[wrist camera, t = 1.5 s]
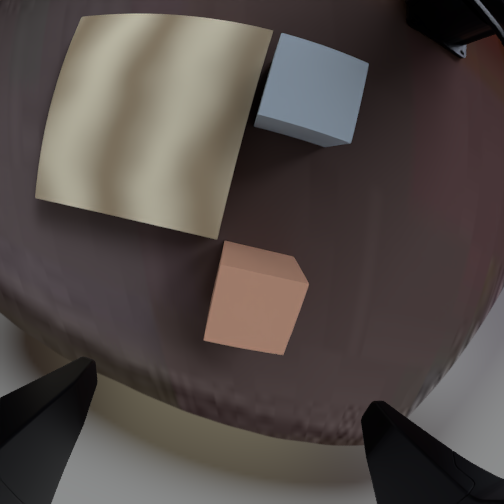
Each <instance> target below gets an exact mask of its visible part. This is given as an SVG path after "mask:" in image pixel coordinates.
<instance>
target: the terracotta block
mask: <svg viewBox="0 0 504 504" xmlns="http://www.w3.org/2000/svg"><path fill="white" fill-rule="evenodd" d="M308 286H309V283H308V281H307V279H306V277H305V276H304V274H303V272H302V270H301V269H300V267H299V265H298V263H297V262H296V260H295V258H294V257H293V256H289V255H284V254H280V253H276V252H272V251H267V250H263V249H259V248H255V247H250V246H246V245H242V244H238V243H233V242H229V241H224V245H223V250H222V254H221V258H220V262H219V267H218V271H217V275H216V280H215V284H214V289H213V293H212V298H211V302H210V307H209V313H208V318H207V323H206V329H205V335H204V341H208V342H213V343H218V344H223V345H228V346H233V347H238V348H244V349H249V350H255V351H261V352H267V353H273V354H279V355H283V354H284V351H285V349H286V346H287V344H288V341H289V338H290V336H291V333H292V330H293V328H294V325H295V322H296V320H297V317H298V314H299V311H300V309H301V306H302V303H303V300H304V297H305V294H306V292H307V289H308Z"/></svg>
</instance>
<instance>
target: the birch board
mask: <svg viewBox="0 0 504 504" xmlns="http://www.w3.org/2000/svg"><path fill="white" fill-rule="evenodd" d="M272 33H273V30H269V29H264V28H260V27H256V26H251V25H246V24H241V23H235V22H230V21H224V20H217V19H210V18H202V17H193V16H182V15H167V14H111V15H96V16H86V17H82V18H81V20H80V22H79V25H78V27H77V29H76V32H75V34H74V36H73V39H72V41H71V44H70V46H69V49H68V52H67V54H66V57H65V60H64V63H63V66H62V69H61V72H60V75H59V78H58V81H57V84H56V88H55V91H54V95H53V98H52V102H51V106H50V110H49V114H48V119H47V123H46V128H45V132H44V137H43V143H42V148H41V154H40V161H39V168H38V175H37V184H36V194H35V198H38V199H42V200H47V201H51V202H55V203H60V204H64V205H69V206H73V207H77V208H82V209H86V210H91V211H95V212H99V213H104V214H108V215H113V216H117V217H121V218H126V219H130V220H134V221H139V222H143V223H148V224H152V225H156V226H161V227H165V228H169V229H174V230H178V231H182V232H186V233H191V234H195V235H199V236H204V237H208V238H212V239H217V238H218V234H219V231H220V226H221V222H222V218H223V214H224V209H225V205H226V201H227V197H228V193H229V189H230V185H231V181H232V177H233V173H234V169H235V165H236V161H237V157H238V154H239V150H240V146H241V142H242V138H243V135H244V131H245V127H246V124H247V120H248V116H249V113H250V109H251V105H252V102H253V98H254V95H255V91H256V88H257V84H258V81H259V77H260V74H261V71H262V67H263V64H264V60H265V57H266V54H267V51H268V47H269V44H270V41H271V37H272Z"/></svg>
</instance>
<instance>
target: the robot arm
mask: <svg viewBox="0 0 504 504" xmlns="http://www.w3.org/2000/svg"><path fill="white" fill-rule="evenodd" d="M406 4H407V15H406V21H407V23H408V24H409V25H410V26H411V27H413V28H415V29H416V30H418V31H420V32H422V33H423V34H425V35H426V36H428V37H430V38H431V39H433V40H434V41H436V42H438V43H439V44H441V45H442V46H444V47H445V48H446V49H448V50H449V51H451V52H452V53H454V54H455V55H456V56H458V57H459V58H465V57H466V44H469V43H472V42H474V41H477V40H480V39H483V38H486V37H489V36H492V35H495V34H496V35H497V37H498V38H499V39H500V41H501V42H502V45H503V46H504V0H406ZM411 20H412V21H413V22H412V21H411ZM460 52H461V53H460ZM96 386H97V372H96V363H95V361H94V360H93V359H90V358H87V357H80V358H78V359H76V360H74V361H73V362H71V363H69V364H67V365H65V366H63V367H61V368H59V369H57V370H55V371H53V372H51V373H49V374H47V375H45V376H43V377H41V378H39V379H37V380H35V381H33V382H31V383H29V384H27V385H25V386H23V387H21V388H19V389H17V390H15V391H13V392H11V393H9V394H7V395H5V396H3V397H1V398H0V504H51V502H52V499H53V497H54V494H55V492H56V489H57V486H58V484H59V481H60V479H61V476H62V474H63V471H64V469H65V466H66V464H67V462H68V459H69V457H70V455H71V452H72V450H73V448H74V445H75V443H76V441H77V439H78V436H79V434H80V432H81V429H82V427H83V425H84V422H85V419H86V416H87V413H88V410H89V406H90V403H91V401H92V398H93V395H94V391H95V389H96ZM361 425H362V432H363V439H364V446H365V453H366V459H367V463H368V467H369V471H370V475H371V480H372V483H373V488H374V492H375V497H376V501H377V504H504V479H502V478H500V477H497V476H495V475H493V474H492V473H490V472H488V471H485V470H484V469H482V468H480V467H478V466H477V465H475V464H473V463H471V462H470V461H468V460H466V459H465V458H463V457H462V456H460V455H458V454H457V453H456V452H454V451H452V450H451V449H450V448H448V447H447V446H446V445H444V444H443V443H441V442H440V441H438V440H437V439H435V438H434V437H433V436H431V435H430V434H428V433H427V432H426V431H424V430H423V429H421V428H420V427H419V426H417V425H416V424H414V423H413V422H411V421H410V420H409V419H408V418H406V417H405V416H403V415H402V414H401V413H399V412H398V411H397V410H395V409H394V408H393V407H391V406H390V405H389V404H387V403H386V402H384V401H373V402H372V403H371V404H370V405H369V407H368V408H367V410H366V411H365V413H364V414H363V416H362V419H361Z"/></svg>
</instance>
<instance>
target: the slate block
mask: <svg viewBox="0 0 504 504" xmlns="http://www.w3.org/2000/svg"><path fill="white" fill-rule="evenodd" d="M368 66H369V63H366V62H364V61H362V60H359V59H357V58H355V57H352V56H350V55H347V54H345V53H342V52H339V51H337V50H334V49H331V48H329V47H326V46H323V45H320V44H317V43H314V42H311V41H308V40H305V39H301V38H298V37H295V36H291V35H288V34H284V33H281V36H280V39H279V42H278V45H277V48H276V51H275V54H274V57H273V60H272V63H271V66H270V70H269V73H268V77H267V80H266V84H265V87H264V91H263V94H262V98H261V101H260V105H259V109H258V112H257V116H256V120H255V123H254V127H258V128H261V129H265V130H269V131H273V132H276V133H280V134H284V135H287V136H291V137H294V138H297V139H301V140H304V141H307V142H310V143H313V144H317V145H320V146H323V147H330V146H336V145H343V144H350V143H351V141H352V137H353V133H354V129H355V125H356V121H357V117H358V112H359V108H360V104H361V99H362V95H363V90H364V85H365V81H366V76H367V71H368Z"/></svg>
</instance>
